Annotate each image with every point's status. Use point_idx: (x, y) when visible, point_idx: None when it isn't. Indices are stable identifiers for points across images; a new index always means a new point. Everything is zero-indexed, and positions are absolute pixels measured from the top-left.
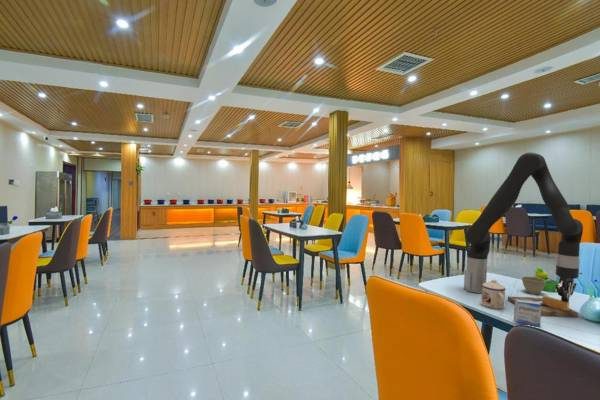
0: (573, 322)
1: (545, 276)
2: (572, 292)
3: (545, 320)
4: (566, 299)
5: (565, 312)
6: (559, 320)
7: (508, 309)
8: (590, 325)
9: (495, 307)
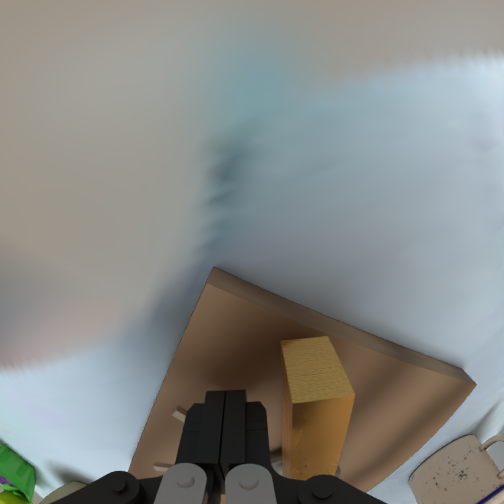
0: (392, 214)
1: (8, 500)
2: (97, 498)
3: (488, 304)
4: (244, 450)
5: (327, 331)
6: (435, 279)
7: (449, 434)
8: (329, 116)
9: (476, 438)
